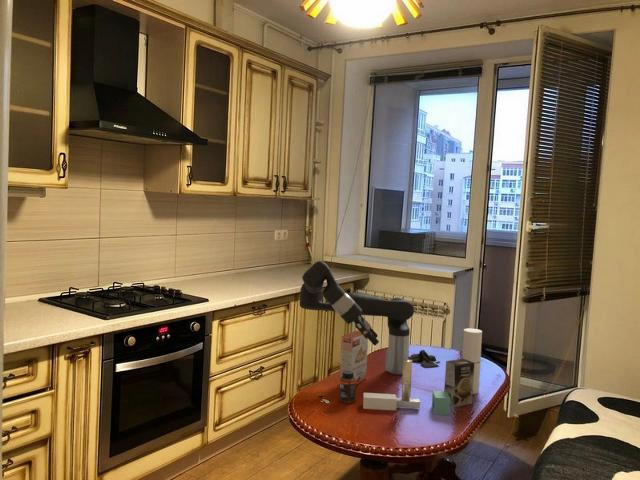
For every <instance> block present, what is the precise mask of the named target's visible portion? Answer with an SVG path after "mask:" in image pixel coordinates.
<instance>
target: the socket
mask: <svg viewBox="0 0 640 480" xmlns="http://www.w3.org/2000/svg"><path fill="white" fill-rule="evenodd" d="M431 398H432V399H431V408H432V410H433V413H434V414H435V415H444V416H445V415H446V416H447V415H450V407H451V405H450V397H449V395H448V393H447V392H446V391H444V390H443V391H442V390H441V391H440V390H439V391H438V390H432V397H431Z"/></svg>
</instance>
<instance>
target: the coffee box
mask: <svg viewBox="0 0 640 480" xmlns="http://www.w3.org/2000/svg"><path fill="white" fill-rule="evenodd" d="M473 378H474V363H473V362H471V361H468V360H465V359H462V358H460V359H451V360H450V359H449V360H446V361H445V373H444V388H443V389H444V390H443V391H446V392H447V393H448V395H449V397H450V407H453V408H456V407H462V406H468V405H472V404H473V395H474V394H473Z"/></svg>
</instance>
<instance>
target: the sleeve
mask: <svg viewBox="0 0 640 480" xmlns="http://www.w3.org/2000/svg"><path fill="white" fill-rule="evenodd" d="M397 398H398V397H397V395H396V394H395V393H393V394H391V393H375V392H363V398H362V399H363V401H362V408H363V409H364V410H365V409H366V410H381V411H397V407H396V405H397Z"/></svg>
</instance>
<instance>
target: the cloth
mask: <svg viewBox="0 0 640 480" xmlns="http://www.w3.org/2000/svg"><path fill="white" fill-rule="evenodd" d="M436 358H437V357H436V356H435V355H431V354H428V352H427V351H426V350H425V349H421V350H419V353H413V354H411V355H410V356H409V358H408V359H409V360H412V364H413V363H416V364H417V363H418V364H419V363H420V366H421V367H422V368H423V369H431V368H439V367H440V365H438V364H440V363H441V361H437V359H436Z"/></svg>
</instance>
